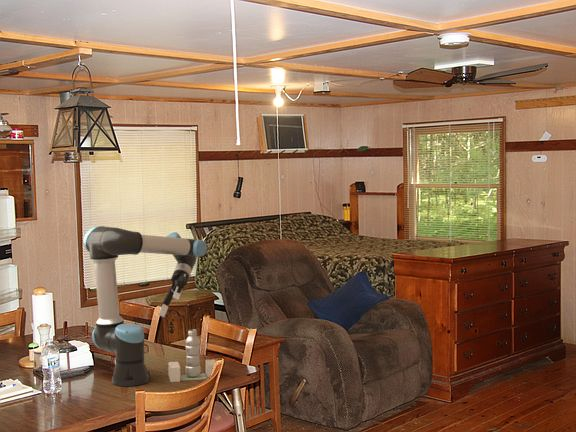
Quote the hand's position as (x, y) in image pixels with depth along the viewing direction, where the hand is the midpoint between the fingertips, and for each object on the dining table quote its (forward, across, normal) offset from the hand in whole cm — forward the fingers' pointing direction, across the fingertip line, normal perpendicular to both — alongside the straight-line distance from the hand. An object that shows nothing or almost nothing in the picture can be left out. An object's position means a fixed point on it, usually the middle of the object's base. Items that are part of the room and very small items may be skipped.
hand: (168, 307), depth 335 cm
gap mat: (+20, +8, -23) cm, 32 cm away
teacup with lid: (+21, +52, +30) cm, 64 cm away
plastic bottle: (+20, +8, -23) cm, 32 cm away
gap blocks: (+20, +8, -23) cm, 32 cm away
